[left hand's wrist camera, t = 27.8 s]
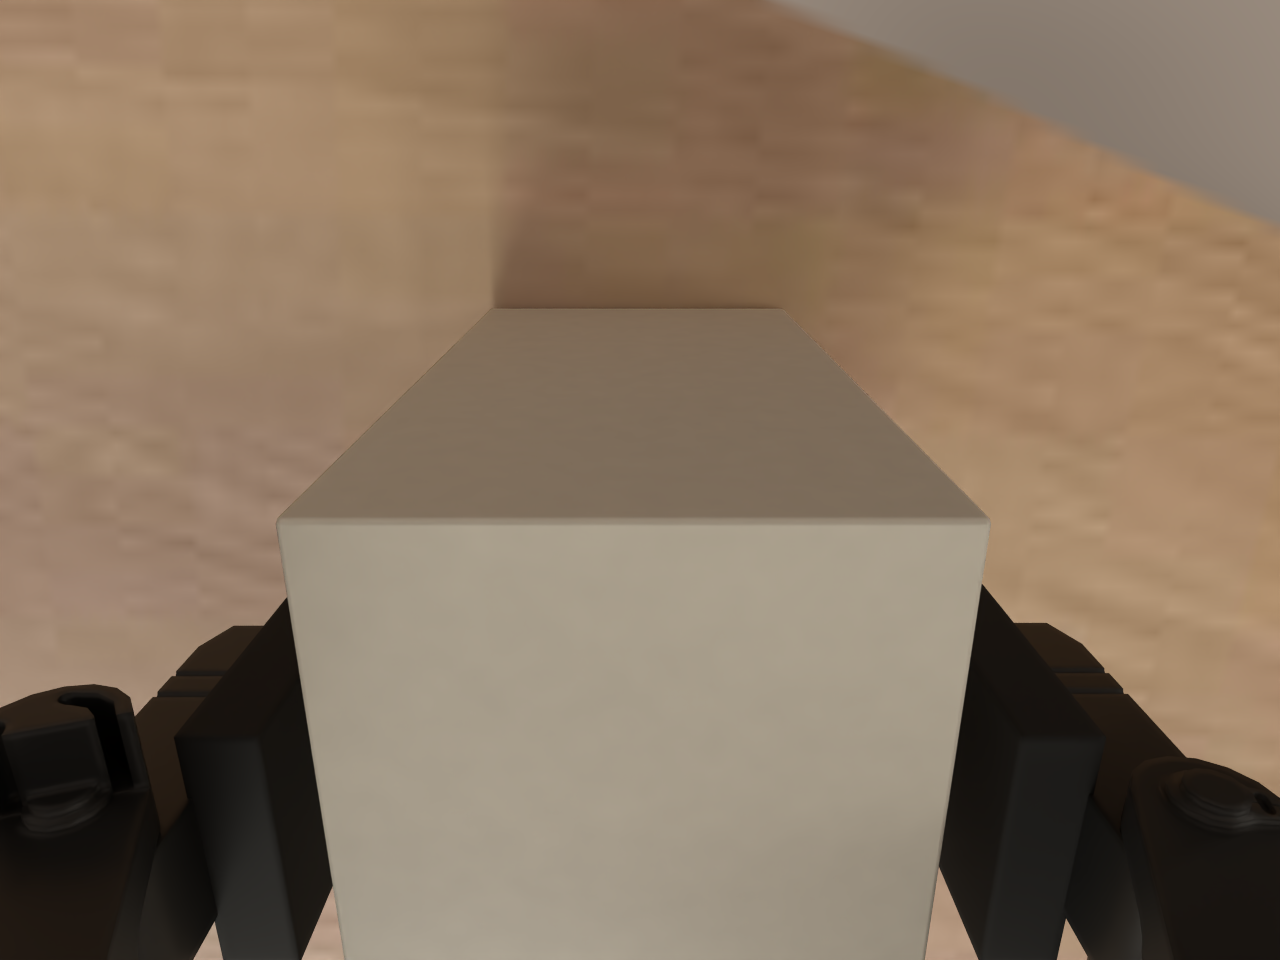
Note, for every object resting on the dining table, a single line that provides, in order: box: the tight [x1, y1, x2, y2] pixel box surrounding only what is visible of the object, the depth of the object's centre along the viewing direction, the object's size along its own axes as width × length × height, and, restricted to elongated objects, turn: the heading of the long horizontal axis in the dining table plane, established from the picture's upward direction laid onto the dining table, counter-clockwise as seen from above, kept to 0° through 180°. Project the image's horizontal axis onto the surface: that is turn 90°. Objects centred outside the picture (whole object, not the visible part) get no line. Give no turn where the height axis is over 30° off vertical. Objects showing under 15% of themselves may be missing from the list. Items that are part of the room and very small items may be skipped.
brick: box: [276, 309, 991, 960], centre depth 12 cm, size 5×8×10 cm
